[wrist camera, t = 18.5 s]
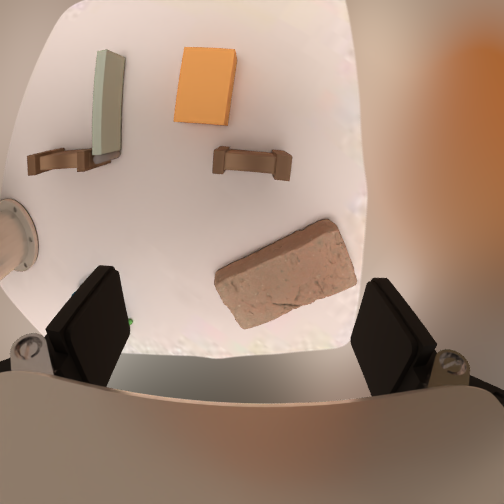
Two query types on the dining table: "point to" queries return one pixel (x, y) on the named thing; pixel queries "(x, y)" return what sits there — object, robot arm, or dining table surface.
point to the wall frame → (222, 160)
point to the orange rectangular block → (205, 85)
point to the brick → (286, 275)
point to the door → (107, 106)
